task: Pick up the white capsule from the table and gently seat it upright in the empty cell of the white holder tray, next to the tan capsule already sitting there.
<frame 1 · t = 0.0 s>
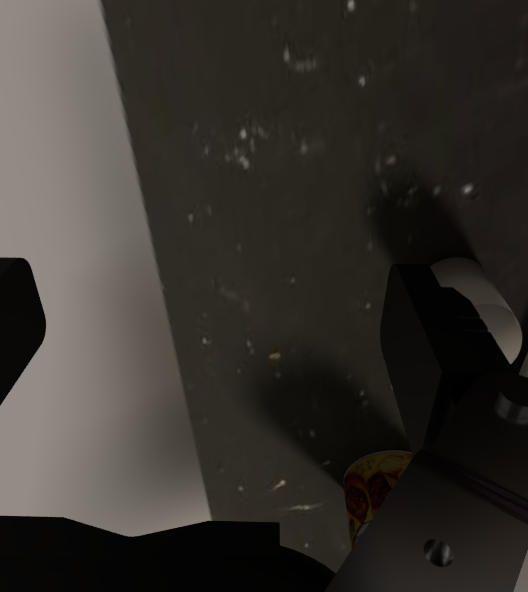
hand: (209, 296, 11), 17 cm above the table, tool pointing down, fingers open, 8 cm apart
canned food: (388, 476, 42), on the table
white capsule: (450, 287, 31), on the table
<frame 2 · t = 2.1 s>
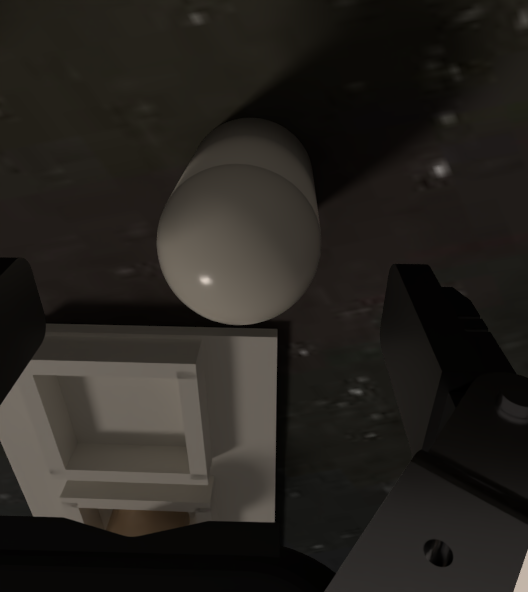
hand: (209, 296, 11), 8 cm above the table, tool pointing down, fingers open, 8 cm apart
white holder tray: (143, 455, 26), on the table
tan capsule: (151, 516, 28), point 1 cm above the table, touching white holder tray
white capsule: (251, 181, 17), on the table
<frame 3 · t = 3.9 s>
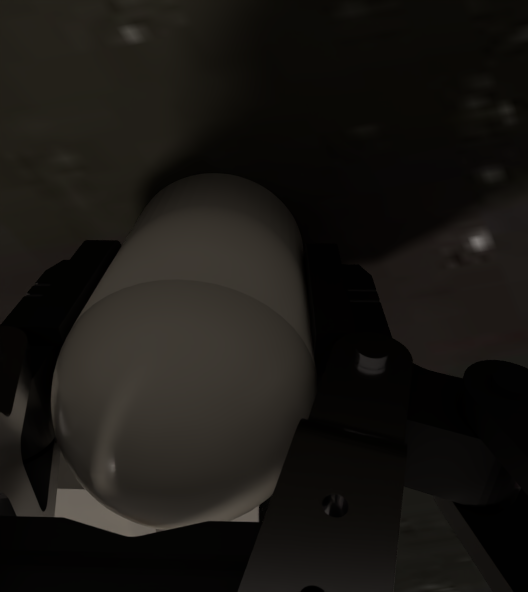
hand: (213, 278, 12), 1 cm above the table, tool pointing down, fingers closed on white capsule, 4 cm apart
white holder tray: (95, 566, 21), on the table
white capsule: (218, 255, 13), on the table, touching gripper
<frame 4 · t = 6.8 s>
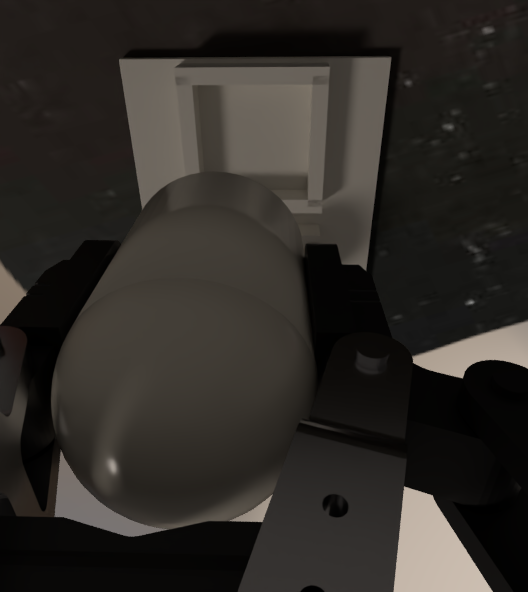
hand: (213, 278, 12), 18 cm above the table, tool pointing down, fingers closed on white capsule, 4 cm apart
white holder tray: (257, 209, 30), on the table
white capsule: (218, 254, 13), point 17 cm above the table, touching gripper
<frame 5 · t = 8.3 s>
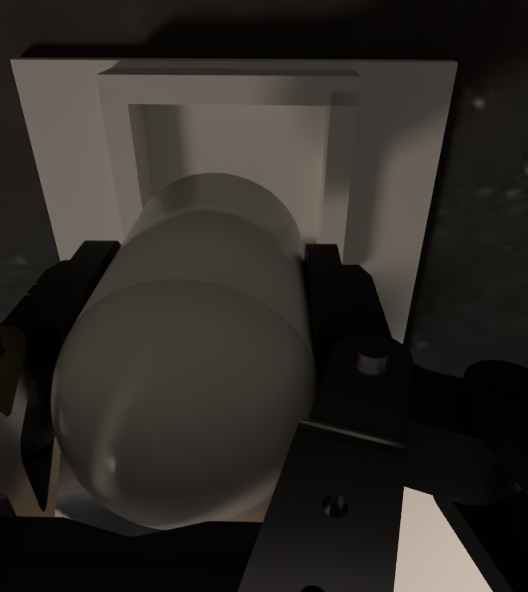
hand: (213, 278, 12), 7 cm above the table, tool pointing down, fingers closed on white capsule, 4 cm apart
white holder tray: (239, 284, 20), on the table
tan capsule: (241, 376, 22), point 1 cm above the table, touching white holder tray
white capsule: (218, 255, 13), point 6 cm above the table, touching gripper
when the fingers open (4 cm above the table, at t = 9.8 s): white capsule drops 2 cm, resting on white holder tray.
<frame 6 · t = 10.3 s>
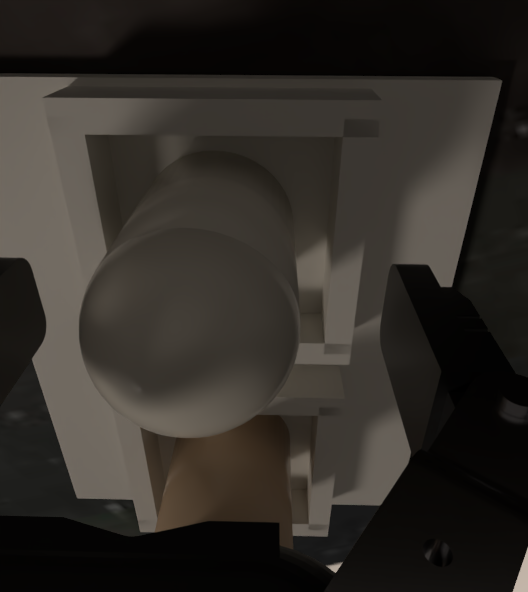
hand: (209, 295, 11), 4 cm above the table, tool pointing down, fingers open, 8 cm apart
white holder tray: (231, 337, 17), on the table
tan capsule: (233, 438, 19), point 1 cm above the table, touching white holder tray
white capsule: (218, 226, 14), point 1 cm above the table, touching white holder tray
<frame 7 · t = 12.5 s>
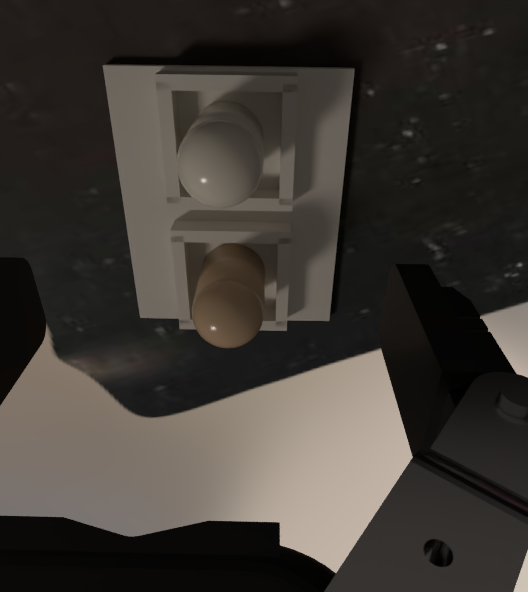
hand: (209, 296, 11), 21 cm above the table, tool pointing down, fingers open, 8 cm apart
white holder tray: (232, 207, 32), on the table
tan capsule: (233, 272, 34), point 1 cm above the table, touching white holder tray
white capsule: (227, 140, 29), point 1 cm above the table, touching white holder tray
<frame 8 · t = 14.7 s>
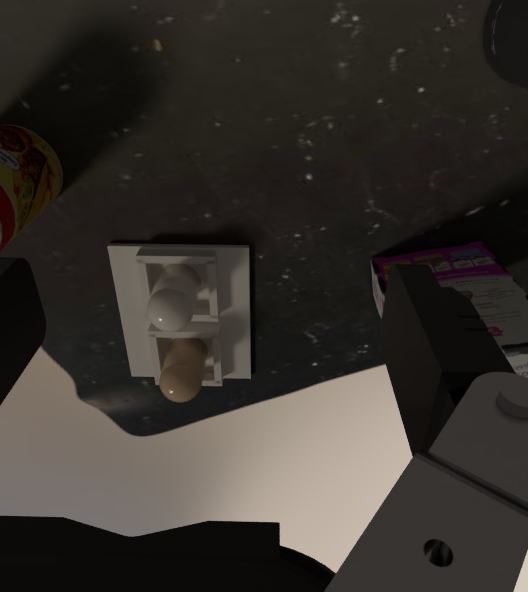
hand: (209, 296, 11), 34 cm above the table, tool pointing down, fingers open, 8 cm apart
canned food: (21, 167, 45), on the table
candy bar box: (425, 268, 49), on the table
white holder tray: (185, 314, 53), on the table
tan capsule: (188, 350, 55), point 1 cm above the table, touching white holder tray
white capsule: (179, 281, 50), point 1 cm above the table, touching white holder tray
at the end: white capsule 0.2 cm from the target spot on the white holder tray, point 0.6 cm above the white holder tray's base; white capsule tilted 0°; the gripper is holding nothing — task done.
